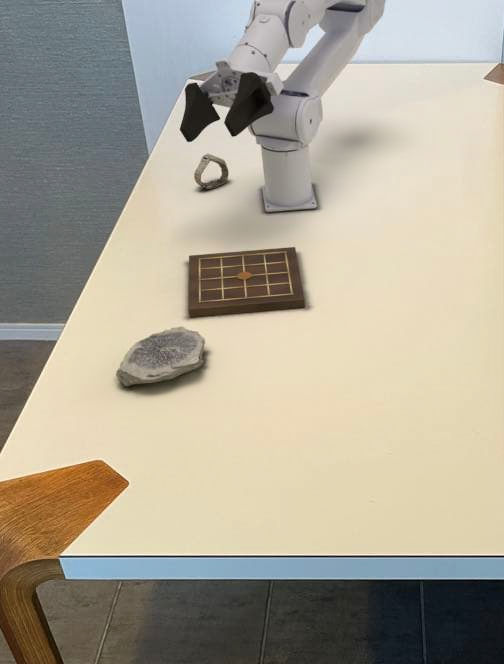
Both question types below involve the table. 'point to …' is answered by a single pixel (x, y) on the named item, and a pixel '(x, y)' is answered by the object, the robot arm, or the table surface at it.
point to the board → (244, 282)
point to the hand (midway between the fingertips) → (207, 132)
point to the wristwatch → (202, 166)
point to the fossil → (162, 357)
